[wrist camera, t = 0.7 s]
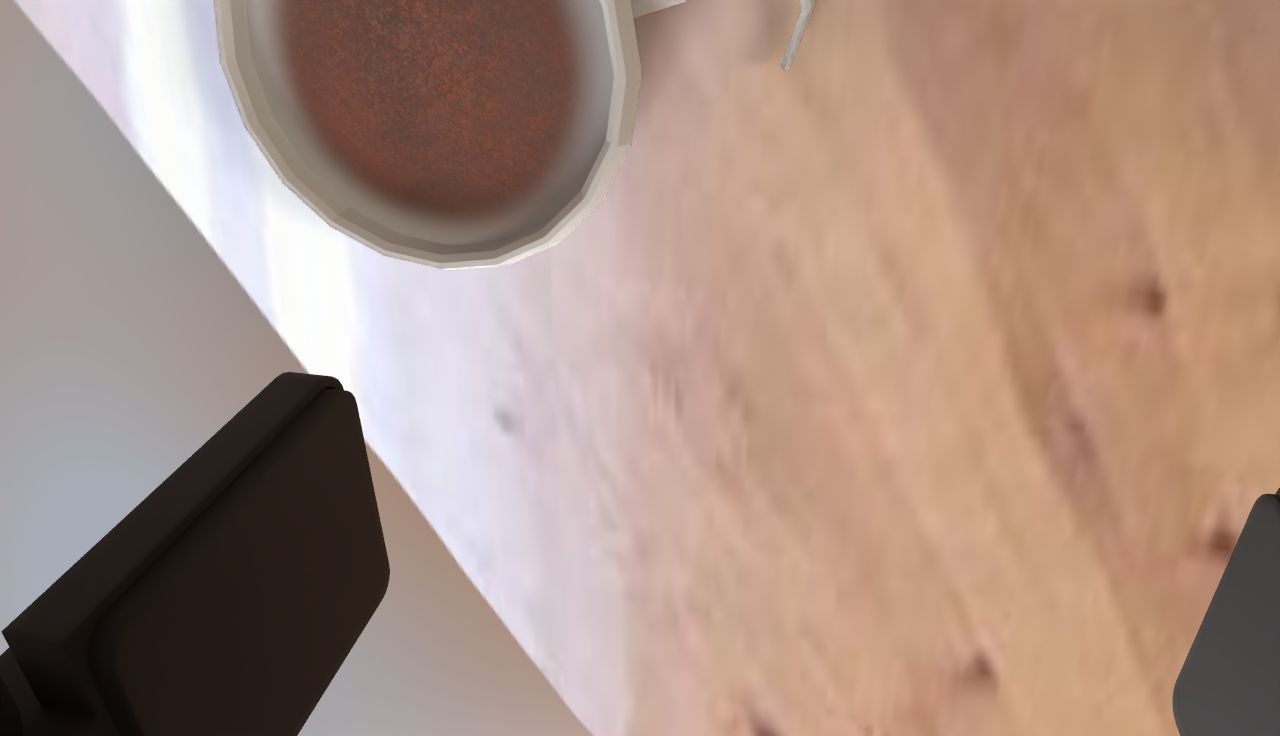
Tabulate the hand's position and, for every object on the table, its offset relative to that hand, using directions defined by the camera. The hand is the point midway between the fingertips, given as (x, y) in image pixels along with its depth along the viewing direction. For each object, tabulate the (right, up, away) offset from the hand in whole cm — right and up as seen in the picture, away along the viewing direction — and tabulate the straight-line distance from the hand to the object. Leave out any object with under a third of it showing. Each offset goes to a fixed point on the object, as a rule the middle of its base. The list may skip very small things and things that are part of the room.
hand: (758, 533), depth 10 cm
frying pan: (-4, +15, +24) cm, 29 cm away
